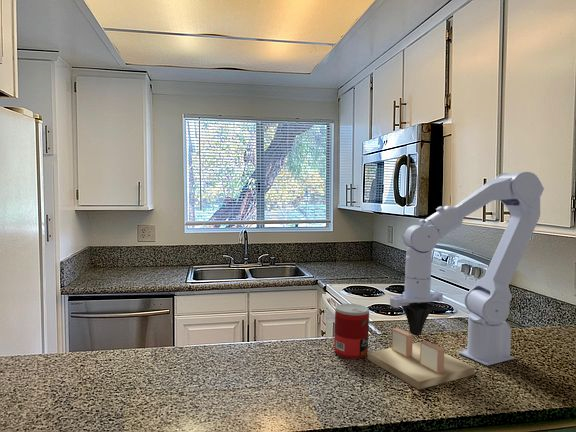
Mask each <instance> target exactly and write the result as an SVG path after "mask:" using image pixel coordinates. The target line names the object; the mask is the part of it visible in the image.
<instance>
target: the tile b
mask: <svg viewBox="0 0 576 432" xmlns="http://www.w3.org/2000/svg"><path fill="white" fill-rule="evenodd" d="M420 343H421V349H420V365H422V366H424V367H426V368H428V369H430V370H432V371H433V372H435V373H437V374H439V373H443V372H444V353H445V348H444V347H442V346H440V345H438V344H435V343H433V342H430V341H428V340H422V341H420Z"/></svg>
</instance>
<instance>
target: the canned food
mask: <svg viewBox="0 0 576 432" xmlns="http://www.w3.org/2000/svg"><path fill="white" fill-rule="evenodd" d="M334 311H335V312H334V344H333V345H334V346H333V347H334V352H335V354H336V355H337V356H338V357H341V358H344V359H347V360H348V359H349V360H358V359H364V358H366V356H368V352H369V329H370V325H369V324H370V309H369V308H368V307H367V306H365V305H362V304H357V303H341V304H338V305H336V306H335V309H334Z"/></svg>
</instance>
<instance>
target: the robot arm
mask: <svg viewBox="0 0 576 432" xmlns="http://www.w3.org/2000/svg"><path fill="white" fill-rule="evenodd" d="M544 190H545V187H544V186H543V184H542V182H541V180H540V179H539V177H538V175H536V174H535V173H534V172H532V171H522V172H515V173H506V172H505V173H504V172H503V173H500V174H498V175H497V176H496V177H494V178H491V179H489V180H488V181H487V182H485V183H484V184H483V185H482V186H480V187H479V188H478V189H476V190H475V191H473V192H471V193H470V194H469V195H468V196H467V197H465V198H464V199H462V200H461V201H460V202H458V203H457V204H455V205H454V206H450V205H444V206H441V205H440V206H437V208H435V210H436V212H434V213H432V214H431V215H429V216H428V217H426V218H421V219H419V221H418V222H419V224H414V225H410V226H408V227H407V228H406V230H405V232H404V235H402V240H403V243H404V245H405V246H406V251H405V254H406V255H405V267H404V268H405V270H404V274H405V275H404V291H402V294H399V295H397V296H392V297H390V298H389V302H390V303H389V307H392V308H394V309H398V308H400V307H401V309H402V310H403V312H404V315H405V316H406V319H407V320H406V321H407V322H408V324H407V325H408V327H409V328H408V329H409V333H410V334H412V335H413V336H415V337H418V336H421V335H422V333H423V328H424V327H425V323H426V322H427V321H426V320H427V318H428V317H429V315H430V313H431V312H432V311H433V305H432V304H429V303H434V302H439V303H440V302H443V299H444V298H443V293H442V292H439V291H431V284H432V283H431V280H432V261H433V260H432V257H433V256H432V252H433V250H434V248H436V246H437V244H438V241H440V240H441V239H444V238H445V237H446V236H448V235H450V234H451V233H453V232H454V231H456V230H457V229H459V228H460V227H461V226H462V224H463V220H464V218H466V217H468V216H469V215H471V214H472V213H474V212H476V211H478V210H479V209H481V208H482V207H484V206H486V205H488V204H489V203H492V202H493V201H500V202H501V203H502V204H503V205H504V206H505V207H506V208H507V210H508V212H509V214H510V217H509V218H510V219H509V220H508V223H507V225H506V227H505V229H504V232H503V233H502V236H501V238H500V241H499V242H498V245H497V247H496V250H495V251H494V253H493V256H492V258H491V260H490V263H489V265H488V267H487V270H486V272H485V274H484V276H482V277H481V278H479V279H478V280H476V281H475V283H474V285H473V287H472V288H471V289H469V291H467V292H466V293H465V295H464V300H463V301H464V303H463V304H464V305H465V307H466V309H467V310H468V322H467V323H468V325H467V342H466V343H467V348H466V349H462V350H459V351H458V354H459V355H461V356H464V357H467V358H468V359H470V360H473V361H475V362H478V363H480V364H483V365H484V366H491V365H495V364H498V363H503V362H507V361H511V360H514V356H513V355H511V346H512V345H511V343H512V329H511V326H510V325H509V323H508V322H507V321H506V320H507V319H508V317H509V315H510V310H511V309H510V303H511V302H512V301H511V300H512V298H513V296H512V293H511V290H510V283H511V282H512V280H513V277H514V275H515V273H516V270H517V268H518V266H519V264H520V262H521V260H522V257H523V255H524V253H525V251H526V248H527V246H528V244H529V243H530V240H531V237H532V235H533V233H534V231H535V229H536V226H537V225H538V222H539V220H540V217H541V196H542V194H543V192H544Z"/></svg>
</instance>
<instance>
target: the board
mask: <svg viewBox="0 0 576 432" xmlns="http://www.w3.org/2000/svg"><path fill="white" fill-rule="evenodd" d="M420 349H421V341H418V342H413V345H412V357H405V356H403V355H401V354H399V353H397V352H395V351H393V350H392V347H389V348H383V349H379V350H374V351H370V352H369V351H368V352H367V360H368V361H369V362H371V363H373V364H374V365H376V366H378V367H379V368H382V369H383V370H385V371H386V372H389V374H392V375H393V376H395V377H397V378H398V379H400V380H402V381H403V382H405V383H406V384H409V385H410V386H412V387H414V389H417V390H418V391H419V390H422V389H426V388H430V387H434V386H436V385H440V384H445V383H448V382H451V381H452V382H453V381H455V380H460V379H462V378H466V377H470V376H474V375H475V372H476V370H475V369H476V367H475V366H473V365H471V364H468V363H466V362H465V361H462V360H460V359H457V358H455V357H453V356H451V355H449V354H447V353H445V352H444V372H443V373H439V374H437V373H435V372H433V371H432V370H430V369H428V368H426V367H424V366H422V365H420Z"/></svg>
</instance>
